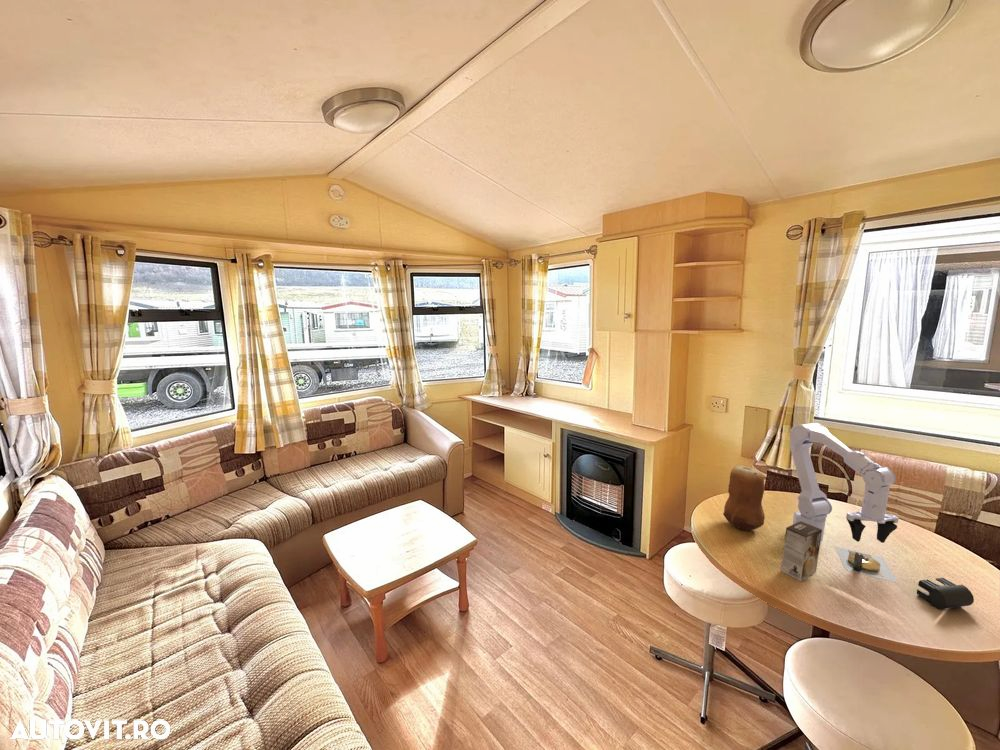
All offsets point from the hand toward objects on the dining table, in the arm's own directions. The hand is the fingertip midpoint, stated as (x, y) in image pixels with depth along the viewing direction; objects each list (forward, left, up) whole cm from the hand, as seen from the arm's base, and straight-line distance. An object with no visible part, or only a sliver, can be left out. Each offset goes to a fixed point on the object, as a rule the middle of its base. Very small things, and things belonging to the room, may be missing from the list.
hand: (868, 540), depth 134 cm
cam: (-1, -2, -8) cm, 9 cm away
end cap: (+15, -12, -10) cm, 22 cm away
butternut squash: (-35, +7, -10) cm, 37 cm away
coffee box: (-20, -15, -10) cm, 27 cm away
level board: (0, 0, -10) cm, 10 cm away
